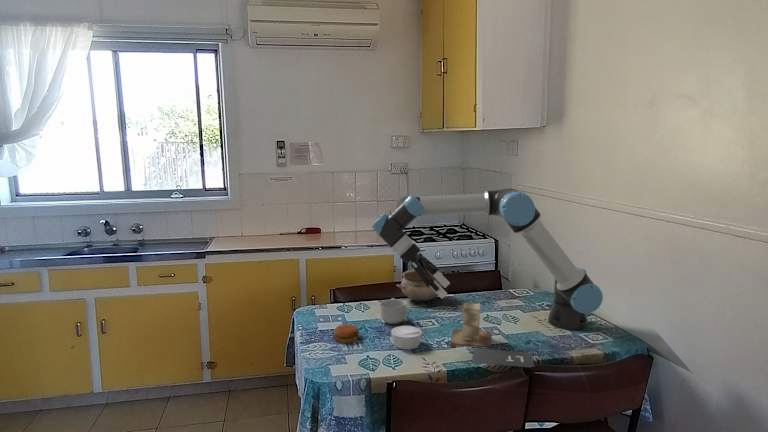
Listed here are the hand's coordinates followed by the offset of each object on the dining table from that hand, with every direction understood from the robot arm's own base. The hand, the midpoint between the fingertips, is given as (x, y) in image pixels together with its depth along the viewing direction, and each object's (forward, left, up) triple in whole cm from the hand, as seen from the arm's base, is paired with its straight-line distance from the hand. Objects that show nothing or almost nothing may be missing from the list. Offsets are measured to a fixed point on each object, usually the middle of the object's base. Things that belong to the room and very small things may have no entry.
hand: (446, 290), depth 192 cm
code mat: (-20, +15, -19) cm, 32 cm away
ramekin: (+14, +8, -19) cm, 25 cm away
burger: (+37, +7, -19) cm, 42 cm away
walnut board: (-9, 0, -19) cm, 21 cm away
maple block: (-9, 0, -17) cm, 20 cm away
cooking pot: (+15, -44, -19) cm, 50 cm away
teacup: (+23, -16, -19) cm, 33 cm away
